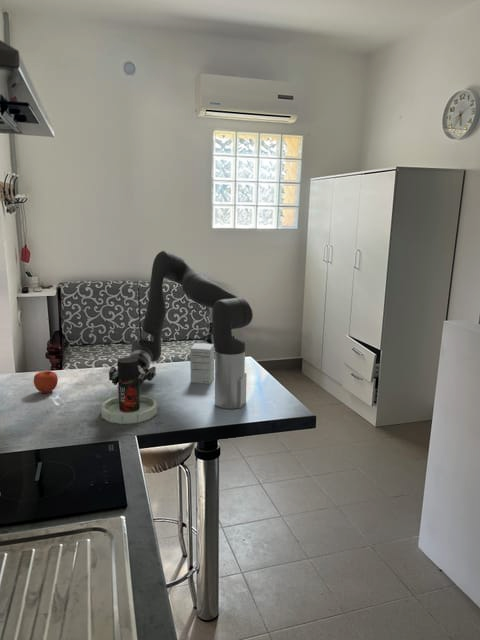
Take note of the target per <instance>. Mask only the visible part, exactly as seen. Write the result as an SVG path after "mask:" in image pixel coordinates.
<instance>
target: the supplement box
mask: <svg viewBox="0 0 480 640" xmlns="http://www.w3.org/2000/svg"><path fill="white" fill-rule="evenodd" d="M189 353H190V355H189V356H190V357H189V358H190V359H189V360H190V366H189V367H190V383H192V384H193V383H194V384H206V385H207V384H209V385H210V384H211V383H212V382H213V380H214V379H215V344H214V343H197V342H196V343H194V344H193V345H192V346H191V347H190V349H189Z"/></svg>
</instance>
